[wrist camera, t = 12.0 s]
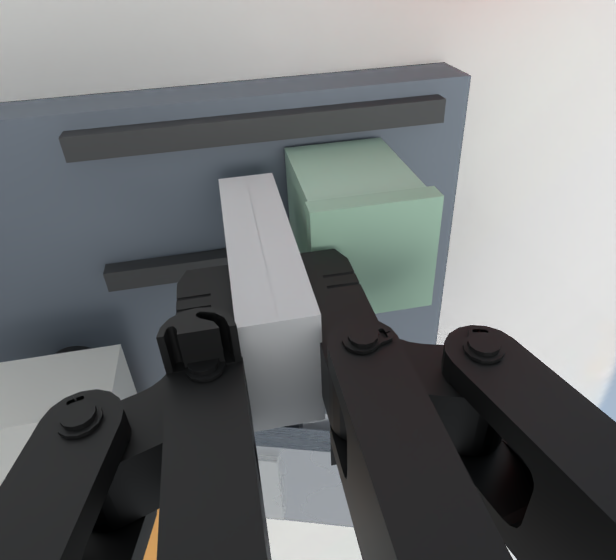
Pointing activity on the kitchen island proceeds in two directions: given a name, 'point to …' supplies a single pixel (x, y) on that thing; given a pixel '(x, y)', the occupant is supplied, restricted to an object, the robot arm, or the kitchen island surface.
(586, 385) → the kitchen island surface
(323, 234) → the pale green block
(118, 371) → the button
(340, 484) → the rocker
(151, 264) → the panel
